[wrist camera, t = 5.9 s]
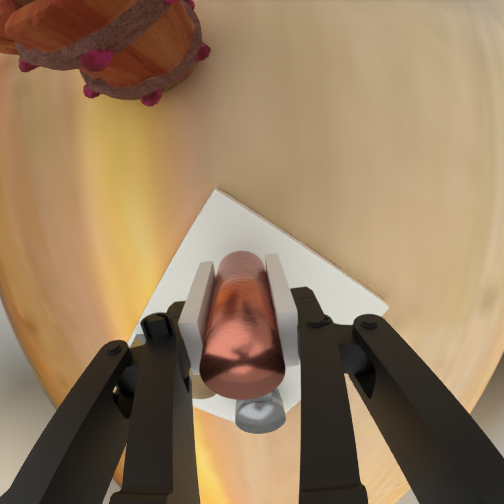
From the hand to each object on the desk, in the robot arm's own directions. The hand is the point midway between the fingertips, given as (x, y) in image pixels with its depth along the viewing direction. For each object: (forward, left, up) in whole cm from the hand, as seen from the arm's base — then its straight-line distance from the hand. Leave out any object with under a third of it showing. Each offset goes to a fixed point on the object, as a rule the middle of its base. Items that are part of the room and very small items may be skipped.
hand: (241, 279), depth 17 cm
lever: (+6, +5, -2) cm, 8 cm away
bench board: (+6, +4, -5) cm, 9 cm away
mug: (-8, -16, -5) cm, 19 cm away
